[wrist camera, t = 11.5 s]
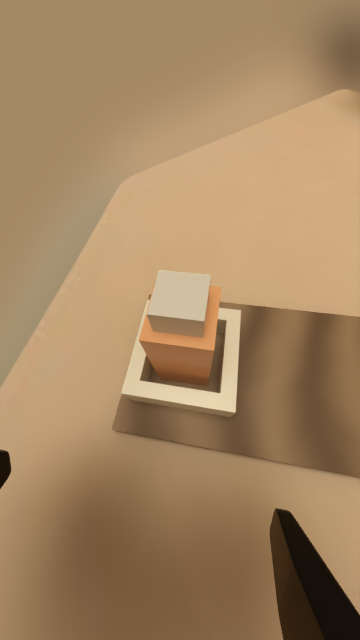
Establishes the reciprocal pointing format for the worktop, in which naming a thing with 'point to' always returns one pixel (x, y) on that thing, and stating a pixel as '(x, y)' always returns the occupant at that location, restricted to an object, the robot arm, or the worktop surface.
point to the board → (274, 394)
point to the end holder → (189, 398)
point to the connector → (181, 326)
